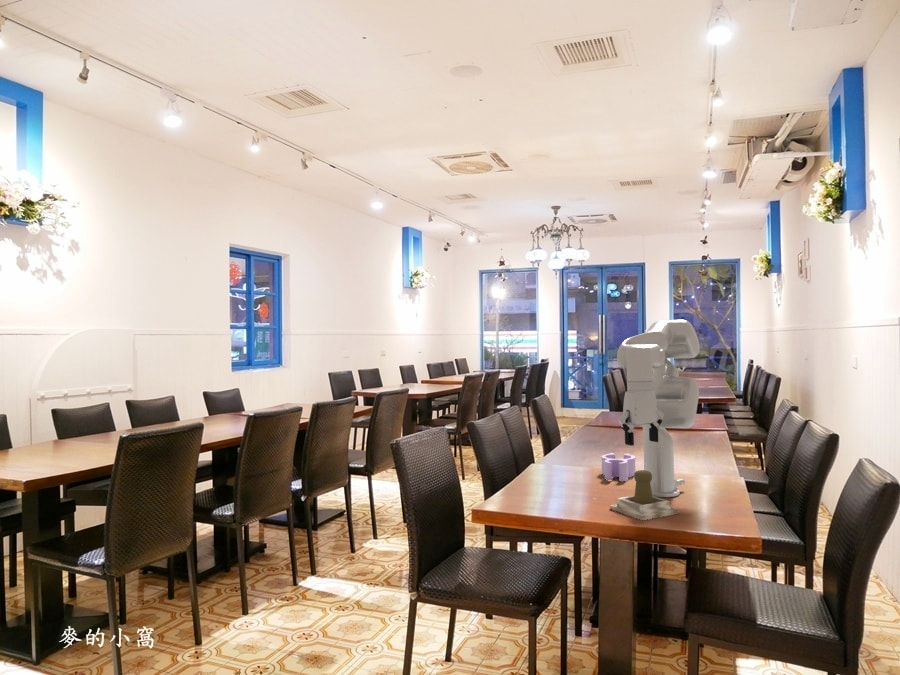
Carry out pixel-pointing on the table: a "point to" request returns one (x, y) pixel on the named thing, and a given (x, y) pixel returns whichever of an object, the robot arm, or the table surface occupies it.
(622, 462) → the clip
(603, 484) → the table surface
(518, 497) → the table surface
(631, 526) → the table surface
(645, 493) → the cork
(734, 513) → the table surface
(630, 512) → the socket board
